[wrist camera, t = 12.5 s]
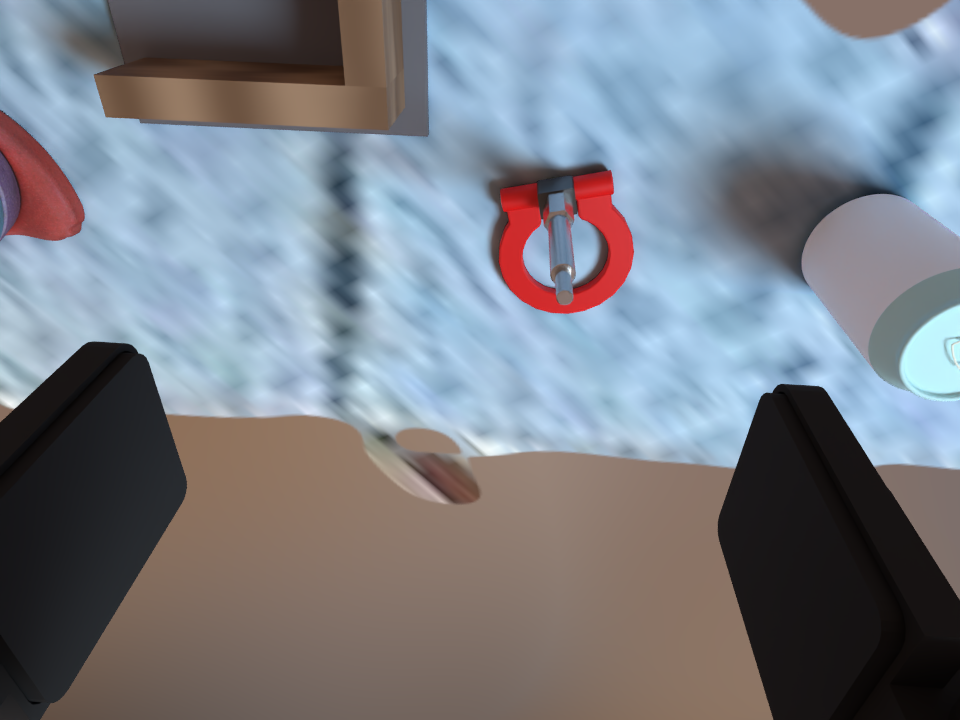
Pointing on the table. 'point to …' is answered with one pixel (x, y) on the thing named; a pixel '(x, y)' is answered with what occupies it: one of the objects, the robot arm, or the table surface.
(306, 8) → the mat
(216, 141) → the table surface
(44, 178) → the stacking bear
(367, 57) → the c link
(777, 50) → the table surface
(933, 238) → the can
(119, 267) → the table surface
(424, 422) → the table surface
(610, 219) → the tow hook
